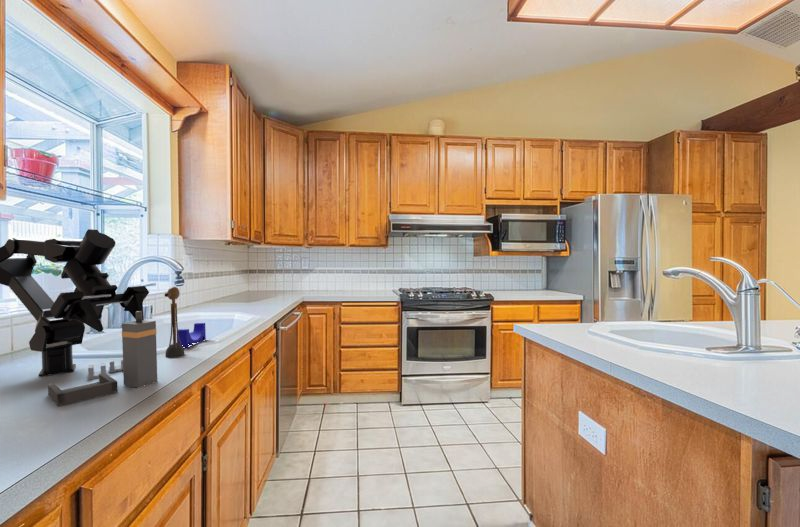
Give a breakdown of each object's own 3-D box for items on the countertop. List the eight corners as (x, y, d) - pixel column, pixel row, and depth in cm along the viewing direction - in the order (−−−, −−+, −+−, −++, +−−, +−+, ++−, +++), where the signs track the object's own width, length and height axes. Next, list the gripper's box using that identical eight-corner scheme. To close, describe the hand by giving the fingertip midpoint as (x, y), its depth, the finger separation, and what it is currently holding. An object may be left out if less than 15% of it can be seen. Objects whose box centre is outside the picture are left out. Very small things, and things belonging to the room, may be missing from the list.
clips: (88, 372, 93) (88, 362, 93) (149, 363, 101) (149, 353, 101) (87, 379, 88) (87, 368, 88) (151, 369, 96) (151, 358, 96)
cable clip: (192, 340, 128) (191, 323, 128) (205, 340, 129) (205, 322, 128) (172, 349, 116) (171, 330, 116) (186, 349, 117) (186, 330, 116)
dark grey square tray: (48, 395, 78) (48, 384, 78) (104, 382, 86) (104, 372, 86) (58, 406, 73) (57, 394, 72) (117, 392, 80) (117, 381, 80)
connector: (123, 385, 84) (121, 312, 83) (143, 379, 88) (141, 309, 88) (138, 387, 82) (136, 313, 82) (157, 381, 87) (155, 310, 86)
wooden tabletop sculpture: (176, 358, 105) (174, 287, 105) (159, 358, 105) (157, 287, 105) (187, 353, 111) (185, 285, 111) (171, 353, 111) (170, 285, 111)
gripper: (113, 297, 101) (144, 340, 97) (25, 307, 83) (60, 360, 80) (133, 268, 98) (166, 311, 95) (46, 271, 80) (84, 325, 77)
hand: (122, 326), depth 87 cm, fingers open, 9 cm apart
